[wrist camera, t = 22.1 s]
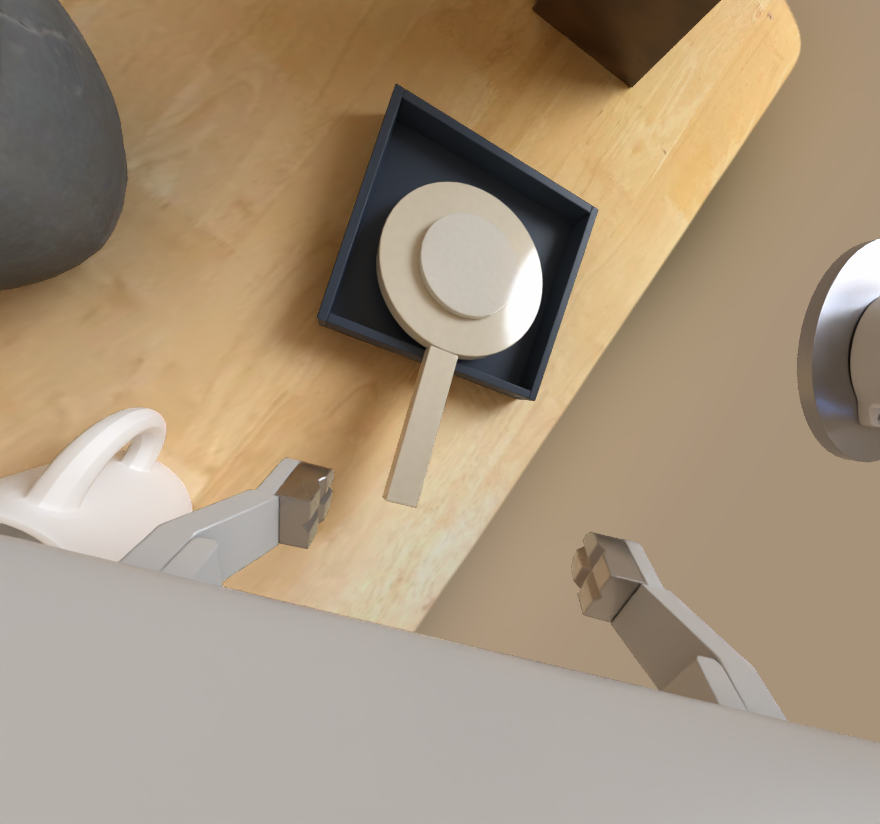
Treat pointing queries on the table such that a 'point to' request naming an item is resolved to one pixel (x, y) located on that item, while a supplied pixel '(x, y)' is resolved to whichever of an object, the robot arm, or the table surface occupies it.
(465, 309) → the beige frying pan
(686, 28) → the stand
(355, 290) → the tray
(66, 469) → the mug
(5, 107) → the bowl
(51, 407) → the table surface
